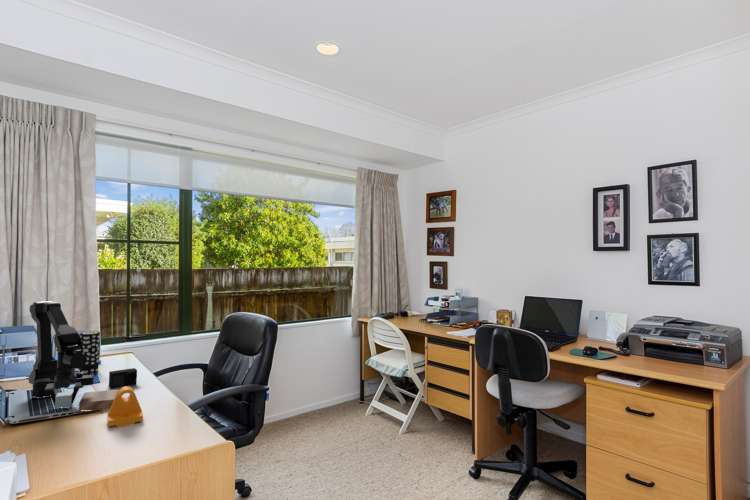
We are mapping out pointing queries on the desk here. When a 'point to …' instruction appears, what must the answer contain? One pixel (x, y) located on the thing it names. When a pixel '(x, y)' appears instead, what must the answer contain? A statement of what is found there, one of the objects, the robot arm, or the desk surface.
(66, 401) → the slate cube
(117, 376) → the digital camera
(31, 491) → the desk surface
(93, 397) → the walnut block
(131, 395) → the bracket
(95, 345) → the spotted tube
